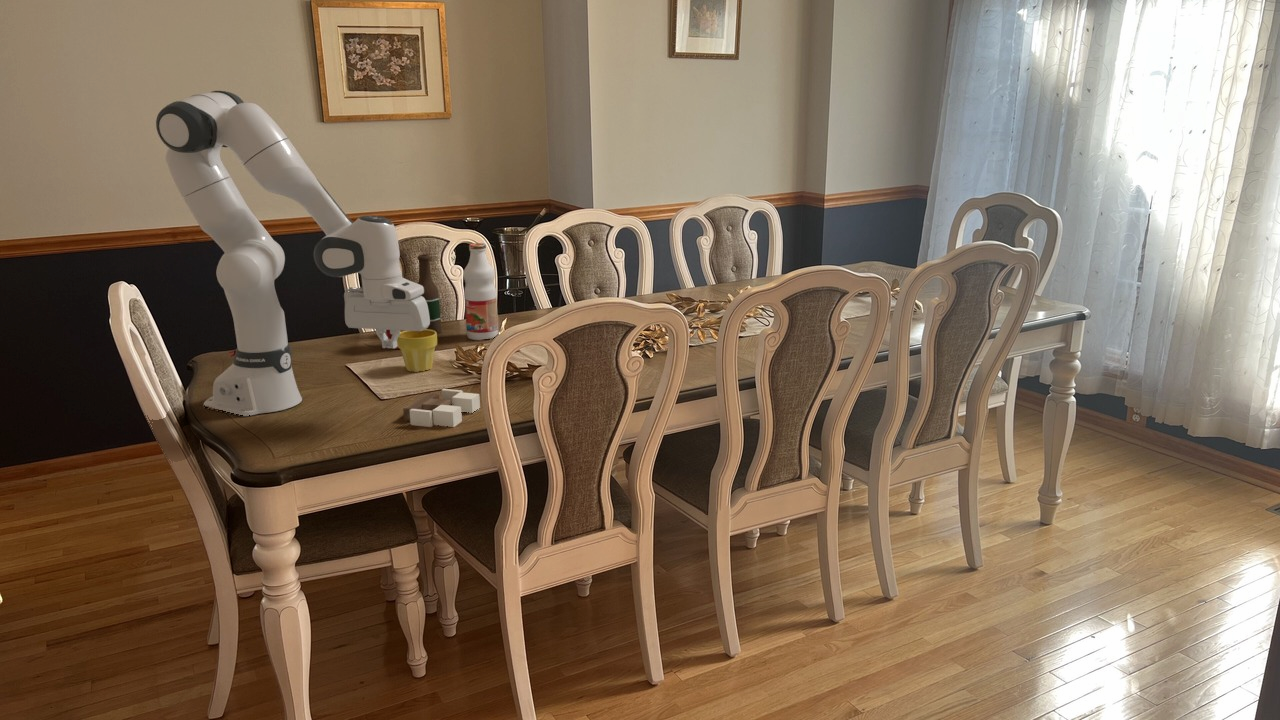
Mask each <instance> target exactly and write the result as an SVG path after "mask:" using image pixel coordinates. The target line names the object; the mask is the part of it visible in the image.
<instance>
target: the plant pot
mask: <svg viewBox="0 0 1280 720" xmlns="http://www.w3.org/2000/svg"><path fill="white" fill-rule="evenodd" d="M397 345H398V348H400V349H399V350H400V352H401V355H402V359H403V362H404V366H405V369H406V370H407V371H408V372H411V371H414V372H413V373H420V372H419V371H423V372H426V371H425V370H428V369H430V370H432V368H433V362H434V355H435V348H436V346H438V334H437V333H436V331H433V330H428V329H425V330H423V331H403V332H400V335H399V337H398V339H397ZM428 371H429V370H428Z"/></svg>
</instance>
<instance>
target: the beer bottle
mask: <svg viewBox="0 0 1280 720" xmlns="http://www.w3.org/2000/svg"><path fill="white" fill-rule="evenodd" d="M430 257H431V256H430V255H429V254H418V256H417V260H418V281H417V284H420V285H422V286H423V287H424V293H423V294H422V295H420V296H422V297H424V298H425V300H426V302H427V305H428V310H429V317H430V324H429V326H428V328H426V329H428V330H433V331H436V333H437V335H440V334H441V333H442V320H441V319H442V318H441V308H440V307H441V305H440V293H439V289H438V286H437V285H436V284H435V282H434V281H433V278H432V271H431V265H430V264H431V263H430V259H431V258H430Z"/></svg>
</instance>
